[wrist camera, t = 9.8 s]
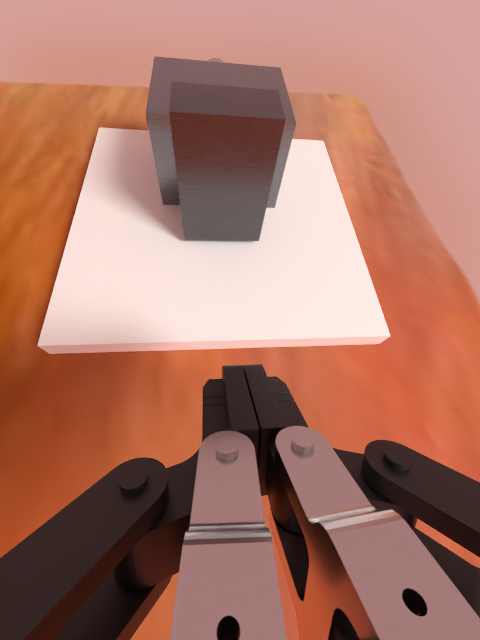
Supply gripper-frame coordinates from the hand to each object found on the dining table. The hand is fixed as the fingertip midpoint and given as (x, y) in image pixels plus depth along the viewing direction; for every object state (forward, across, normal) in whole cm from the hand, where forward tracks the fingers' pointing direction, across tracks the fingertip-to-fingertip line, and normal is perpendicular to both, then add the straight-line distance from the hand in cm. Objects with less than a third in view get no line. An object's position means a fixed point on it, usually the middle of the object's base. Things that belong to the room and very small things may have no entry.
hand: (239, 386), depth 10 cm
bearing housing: (+20, 0, -10) cm, 23 cm away
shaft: (+21, 0, -12) cm, 24 cm away
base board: (+18, 0, -6) cm, 19 cm away
